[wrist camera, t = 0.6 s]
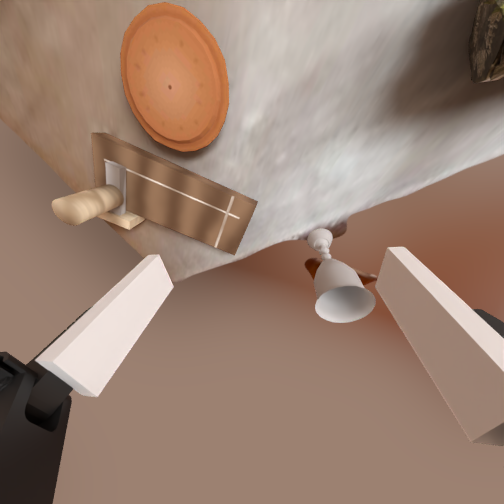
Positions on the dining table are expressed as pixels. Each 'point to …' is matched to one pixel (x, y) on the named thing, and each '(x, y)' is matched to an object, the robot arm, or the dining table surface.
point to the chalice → (337, 285)
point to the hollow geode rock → (487, 42)
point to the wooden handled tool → (99, 202)
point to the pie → (174, 77)
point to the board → (175, 195)
